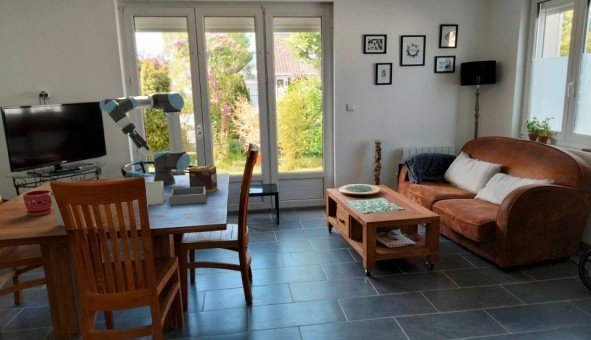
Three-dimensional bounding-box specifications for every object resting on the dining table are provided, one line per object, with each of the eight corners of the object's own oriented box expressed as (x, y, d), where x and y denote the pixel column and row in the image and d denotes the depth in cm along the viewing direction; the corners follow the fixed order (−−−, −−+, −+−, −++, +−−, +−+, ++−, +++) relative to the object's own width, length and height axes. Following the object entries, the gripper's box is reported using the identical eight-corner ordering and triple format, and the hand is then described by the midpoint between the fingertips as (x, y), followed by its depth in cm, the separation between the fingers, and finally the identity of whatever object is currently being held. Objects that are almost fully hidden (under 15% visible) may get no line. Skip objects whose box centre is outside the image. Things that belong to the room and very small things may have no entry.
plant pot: (22, 218, 205) (18, 196, 202) (31, 211, 217) (28, 190, 215) (50, 215, 208) (47, 194, 206) (57, 209, 221) (54, 188, 218)
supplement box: (212, 192, 254) (210, 168, 251) (189, 191, 256) (188, 168, 254) (217, 188, 264) (216, 165, 261) (196, 188, 266) (194, 165, 264)
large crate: (172, 197, 242) (172, 188, 241) (205, 195, 246) (205, 186, 245) (170, 205, 223) (169, 196, 222) (206, 203, 227) (205, 193, 226)
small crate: (145, 200, 235) (143, 182, 233) (164, 199, 238) (163, 180, 235) (142, 205, 225) (140, 186, 222) (162, 204, 227) (161, 184, 225)
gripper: (118, 131, 234) (141, 160, 240) (123, 126, 212) (148, 158, 218) (128, 124, 237) (151, 153, 243) (135, 119, 215) (159, 150, 221)
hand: (150, 155), depth 231 cm, fingers open, 13 cm apart
